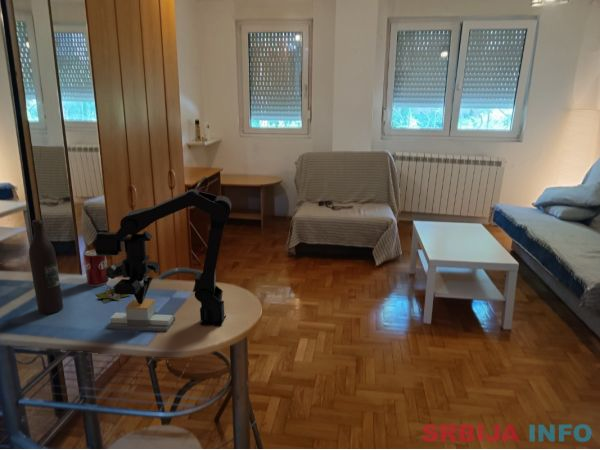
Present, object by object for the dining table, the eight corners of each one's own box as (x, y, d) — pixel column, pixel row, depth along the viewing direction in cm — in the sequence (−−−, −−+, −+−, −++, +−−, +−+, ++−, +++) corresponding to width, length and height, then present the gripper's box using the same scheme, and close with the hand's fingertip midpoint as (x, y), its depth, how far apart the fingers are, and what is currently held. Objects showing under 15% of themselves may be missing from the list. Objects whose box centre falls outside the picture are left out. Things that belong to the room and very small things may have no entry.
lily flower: (100, 308, 143) (99, 295, 142) (89, 295, 152) (88, 283, 151) (136, 297, 151) (135, 285, 150) (124, 286, 160) (123, 275, 158)
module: (156, 316, 135) (154, 299, 133) (148, 326, 129) (147, 308, 128) (136, 315, 135) (134, 298, 134) (127, 325, 130) (125, 307, 128)
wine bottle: (52, 316, 137) (37, 224, 128) (33, 313, 138) (17, 222, 130) (68, 306, 143) (55, 218, 135) (49, 303, 145) (35, 216, 136)
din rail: (175, 319, 135) (174, 312, 135) (167, 331, 129) (166, 323, 128) (119, 317, 137) (118, 309, 136) (108, 328, 130) (107, 320, 129)
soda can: (85, 287, 157) (81, 256, 154) (89, 279, 164) (85, 249, 160) (107, 285, 159) (103, 255, 156) (110, 278, 166) (106, 248, 162)
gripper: (123, 243, 136) (128, 289, 140) (92, 265, 118) (98, 316, 122) (158, 244, 135) (162, 290, 139) (132, 266, 117) (137, 318, 122)
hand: (140, 303), depth 131 cm, fingers closed, pressing on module
